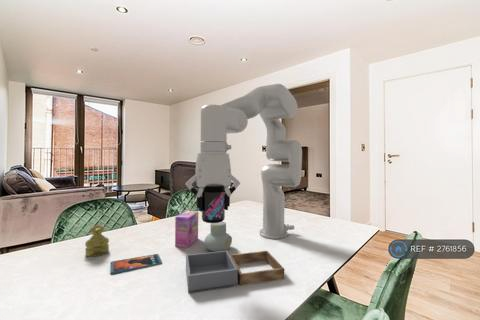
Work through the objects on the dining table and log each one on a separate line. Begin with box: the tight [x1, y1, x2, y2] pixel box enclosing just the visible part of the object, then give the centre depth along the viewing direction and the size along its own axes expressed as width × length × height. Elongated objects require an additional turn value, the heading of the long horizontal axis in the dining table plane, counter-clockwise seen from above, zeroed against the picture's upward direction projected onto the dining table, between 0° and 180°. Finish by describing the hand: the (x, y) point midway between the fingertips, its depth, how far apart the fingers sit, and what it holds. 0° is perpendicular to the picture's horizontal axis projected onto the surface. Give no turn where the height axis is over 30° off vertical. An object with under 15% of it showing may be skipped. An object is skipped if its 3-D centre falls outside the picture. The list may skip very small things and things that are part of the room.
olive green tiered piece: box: [84, 224, 110, 258], centre depth 86 cm, size 7×7×10 cm
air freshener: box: [203, 220, 233, 252], centre depth 89 cm, size 11×8×10 cm
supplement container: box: [201, 185, 226, 224], centre depth 69 cm, size 7×7×10 cm
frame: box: [229, 250, 285, 286], centre depth 73 cm, size 13×13×3 cm
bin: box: [185, 250, 239, 294], centre depth 69 cm, size 13×13×4 cm
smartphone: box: [109, 253, 163, 275], centre depth 77 cm, size 8×1×15 cm
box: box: [174, 210, 199, 249], centre depth 96 cm, size 10×6×12 cm, turn 168°
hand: (213, 209), depth 69 cm, fingers closed on supplement container, 6 cm apart
